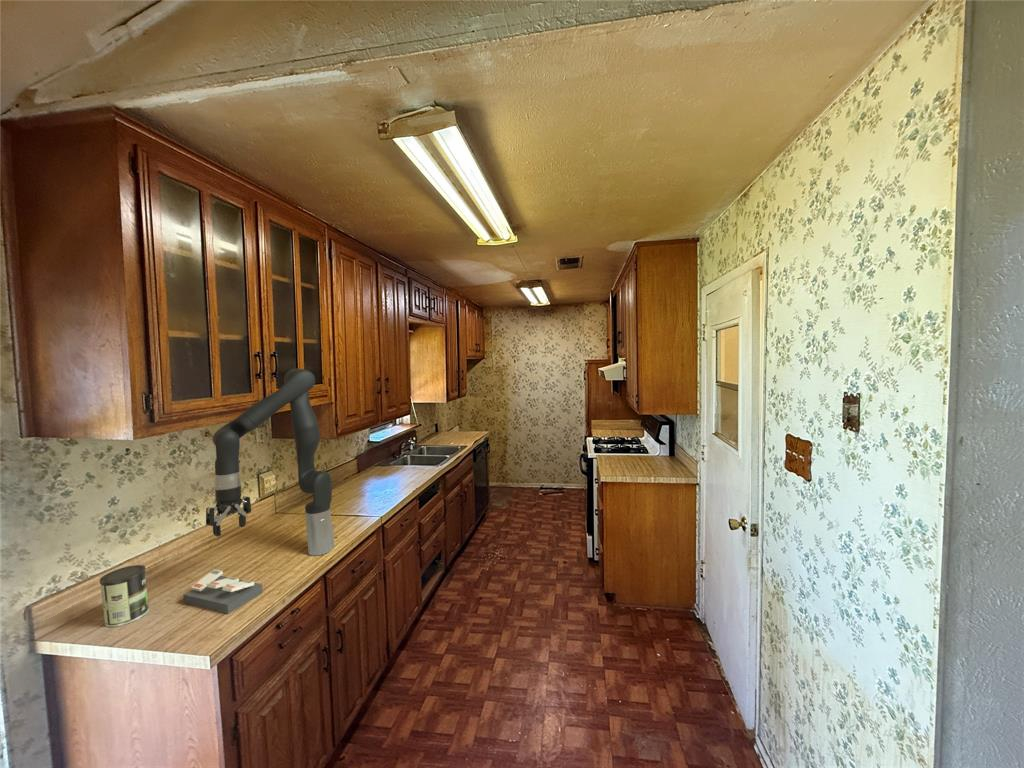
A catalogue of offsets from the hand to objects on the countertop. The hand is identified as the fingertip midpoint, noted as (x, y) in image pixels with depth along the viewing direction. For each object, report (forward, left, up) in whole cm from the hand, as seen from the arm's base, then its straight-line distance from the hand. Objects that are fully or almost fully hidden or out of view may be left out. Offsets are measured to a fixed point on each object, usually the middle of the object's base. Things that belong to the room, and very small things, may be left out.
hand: (230, 531), depth 144 cm
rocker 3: (+8, +13, -14) cm, 21 cm away
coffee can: (+24, -14, -19) cm, 34 cm away
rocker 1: (+8, -1, -14) cm, 16 cm away
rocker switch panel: (+8, +6, -19) cm, 21 cm away
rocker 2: (+8, +6, -14) cm, 17 cm away
